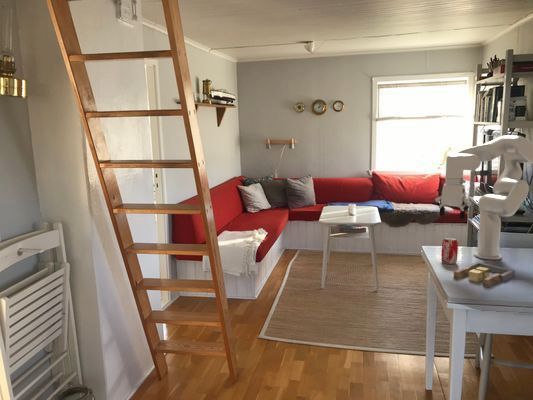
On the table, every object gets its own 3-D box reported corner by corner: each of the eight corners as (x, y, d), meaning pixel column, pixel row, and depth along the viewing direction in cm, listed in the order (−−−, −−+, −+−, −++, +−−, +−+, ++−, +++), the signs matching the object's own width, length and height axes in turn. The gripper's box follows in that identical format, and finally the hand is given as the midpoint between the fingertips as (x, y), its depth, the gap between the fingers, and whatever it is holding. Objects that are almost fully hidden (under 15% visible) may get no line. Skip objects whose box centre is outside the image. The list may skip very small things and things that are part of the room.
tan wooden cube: (472, 278, 191) (473, 269, 191) (482, 280, 188) (482, 271, 188) (468, 280, 189) (469, 271, 188) (477, 282, 186) (478, 273, 185)
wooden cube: (479, 275, 195) (480, 266, 194) (488, 277, 192) (489, 268, 191) (475, 277, 193) (475, 268, 192) (484, 279, 189) (485, 270, 189)
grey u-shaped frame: (476, 266, 206) (477, 261, 206) (514, 275, 194) (514, 270, 193) (464, 272, 199) (464, 266, 199) (502, 281, 187) (503, 275, 186)
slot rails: (467, 272, 198) (467, 266, 198) (499, 280, 187) (500, 274, 187) (453, 278, 191) (453, 271, 190) (486, 287, 180) (487, 280, 179)
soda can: (458, 265, 209) (460, 240, 207) (442, 264, 210) (444, 239, 209) (455, 261, 216) (456, 237, 214) (439, 260, 217) (441, 236, 215)
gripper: (476, 182, 202) (474, 219, 205) (440, 179, 215) (438, 214, 218) (468, 184, 197) (466, 221, 200) (432, 180, 210) (430, 216, 213)
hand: (451, 217), depth 209 cm, fingers open, 9 cm apart
